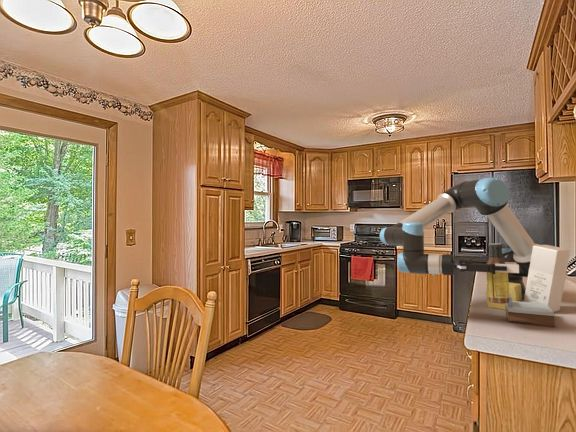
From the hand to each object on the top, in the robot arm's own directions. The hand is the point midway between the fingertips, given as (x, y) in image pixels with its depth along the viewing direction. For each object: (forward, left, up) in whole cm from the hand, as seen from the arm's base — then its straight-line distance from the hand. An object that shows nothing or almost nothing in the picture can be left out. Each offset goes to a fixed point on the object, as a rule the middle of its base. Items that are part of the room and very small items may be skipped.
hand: (517, 267), depth 111 cm
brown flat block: (-15, +4, -20) cm, 25 cm away
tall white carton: (-33, +10, -20) cm, 40 cm away
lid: (-15, +4, -17) cm, 23 cm away
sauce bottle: (0, -6, -12) cm, 14 cm away
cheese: (-32, -2, -21) cm, 38 cm away
